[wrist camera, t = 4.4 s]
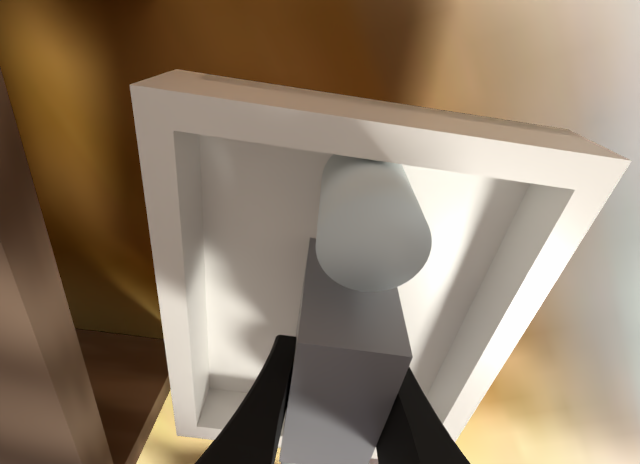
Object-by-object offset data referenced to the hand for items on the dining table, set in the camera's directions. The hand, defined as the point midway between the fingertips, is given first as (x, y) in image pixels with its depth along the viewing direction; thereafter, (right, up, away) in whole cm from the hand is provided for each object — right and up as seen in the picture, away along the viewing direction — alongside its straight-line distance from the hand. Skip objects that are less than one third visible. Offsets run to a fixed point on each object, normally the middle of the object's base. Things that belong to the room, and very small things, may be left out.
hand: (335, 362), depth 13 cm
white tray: (0, +2, +3) cm, 4 cm away
